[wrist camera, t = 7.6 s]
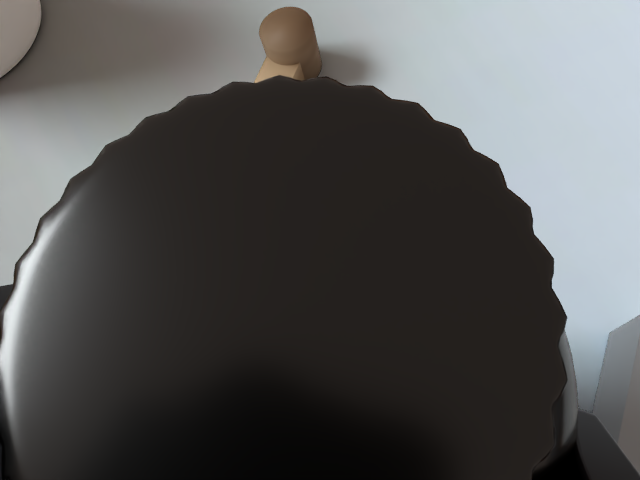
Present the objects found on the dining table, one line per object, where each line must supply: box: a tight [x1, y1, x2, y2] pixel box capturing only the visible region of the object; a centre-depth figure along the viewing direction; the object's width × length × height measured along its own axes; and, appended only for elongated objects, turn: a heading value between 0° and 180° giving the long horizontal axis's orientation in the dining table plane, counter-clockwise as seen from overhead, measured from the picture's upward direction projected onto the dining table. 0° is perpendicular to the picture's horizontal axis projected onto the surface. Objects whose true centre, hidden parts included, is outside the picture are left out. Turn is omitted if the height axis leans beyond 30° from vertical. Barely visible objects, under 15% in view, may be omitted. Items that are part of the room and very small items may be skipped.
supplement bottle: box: [0, 75, 578, 480], centre depth 10 cm, size 7×7×12 cm
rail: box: [254, 7, 322, 83], centre depth 21 cm, size 18×2×2 cm, turn 159°
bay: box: [592, 315, 640, 474], centre depth 17 cm, size 13×15×3 cm
